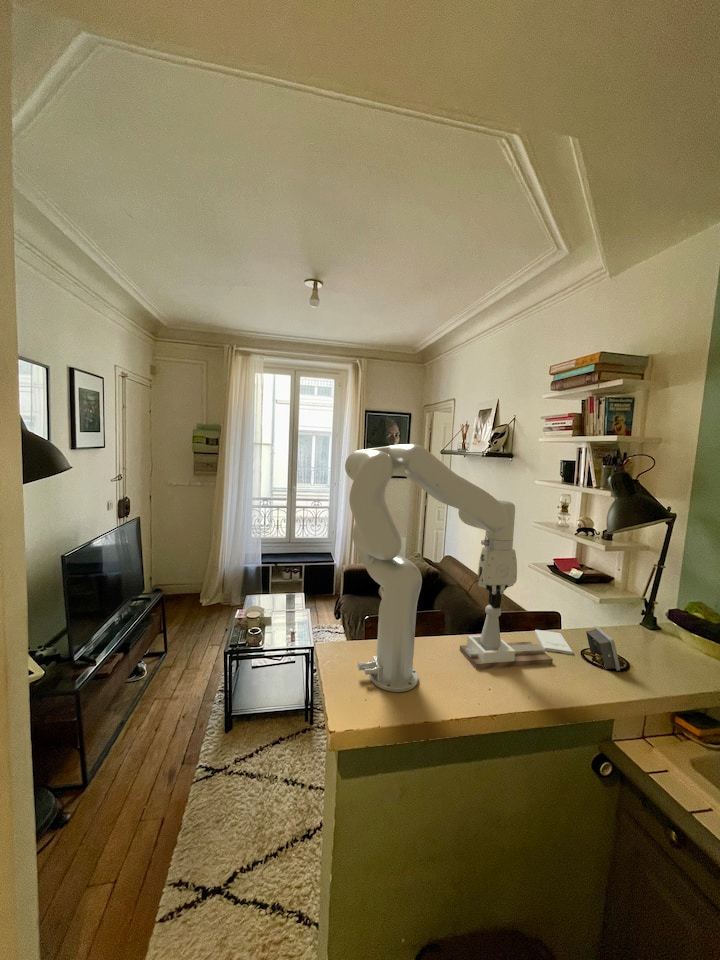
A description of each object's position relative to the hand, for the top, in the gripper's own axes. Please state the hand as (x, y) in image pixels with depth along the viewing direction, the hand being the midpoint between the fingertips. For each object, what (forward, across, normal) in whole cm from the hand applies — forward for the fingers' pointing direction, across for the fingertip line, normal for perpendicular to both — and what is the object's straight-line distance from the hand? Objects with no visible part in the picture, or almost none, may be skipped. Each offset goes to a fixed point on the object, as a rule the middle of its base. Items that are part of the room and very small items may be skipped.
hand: (494, 606), depth 108 cm
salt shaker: (+13, -1, 0) cm, 13 cm away
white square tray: (+14, -1, 0) cm, 14 cm away
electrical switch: (+16, +32, -6) cm, 37 cm away
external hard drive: (+17, +26, +6) cm, 31 cm away
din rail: (+14, +4, 0) cm, 15 cm away
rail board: (+16, +4, 0) cm, 16 cm away
